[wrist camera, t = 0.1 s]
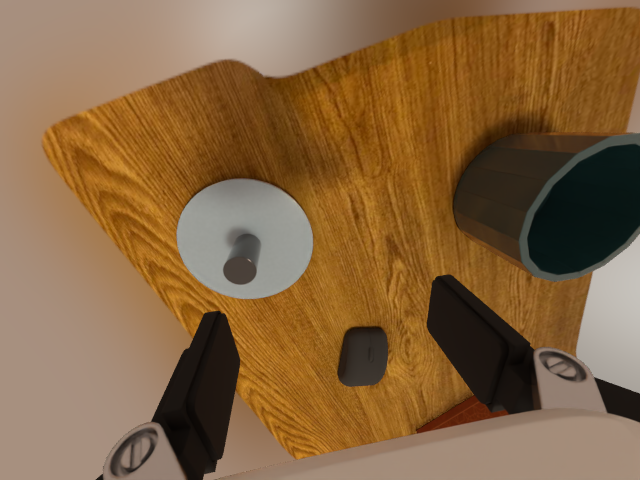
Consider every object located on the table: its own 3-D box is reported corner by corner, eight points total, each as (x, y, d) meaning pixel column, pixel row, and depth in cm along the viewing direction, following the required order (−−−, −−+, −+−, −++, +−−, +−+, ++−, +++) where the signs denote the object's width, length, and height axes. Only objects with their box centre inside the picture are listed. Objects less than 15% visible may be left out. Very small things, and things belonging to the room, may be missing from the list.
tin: (462, 139, 27) (547, 143, 18) (573, 127, 28) (701, 126, 19) (446, 248, 32) (504, 290, 24) (538, 234, 34) (625, 270, 25)
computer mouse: (386, 326, 37) (397, 347, 33) (372, 376, 41) (380, 400, 38) (346, 327, 36) (353, 349, 32) (336, 378, 40) (341, 403, 37)
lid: (160, 185, 24) (119, 203, 18) (304, 169, 26) (311, 181, 20) (202, 301, 31) (183, 343, 25) (317, 283, 32) (325, 319, 26)
